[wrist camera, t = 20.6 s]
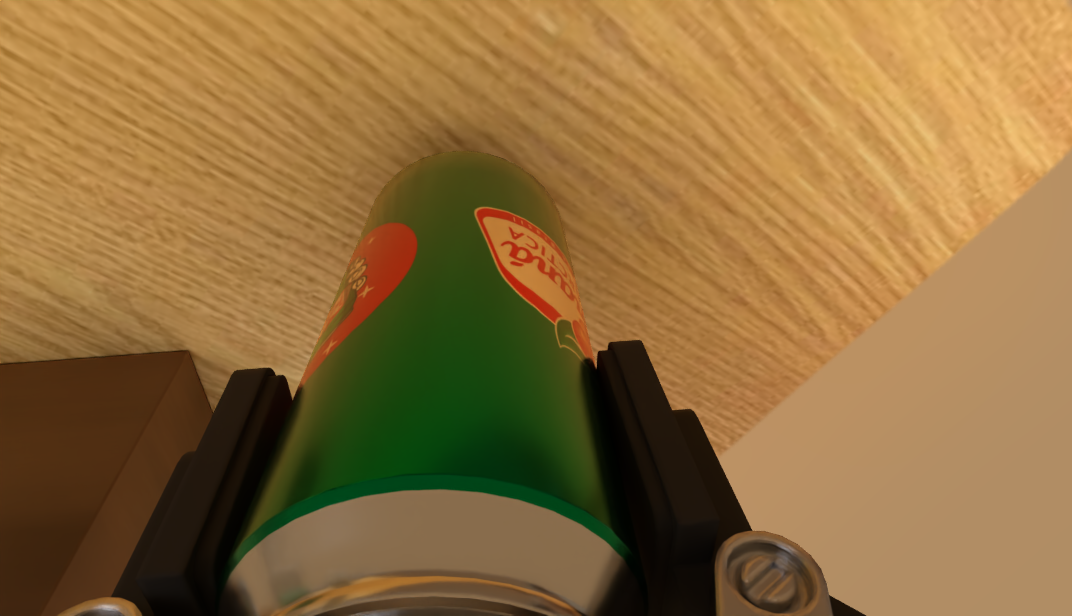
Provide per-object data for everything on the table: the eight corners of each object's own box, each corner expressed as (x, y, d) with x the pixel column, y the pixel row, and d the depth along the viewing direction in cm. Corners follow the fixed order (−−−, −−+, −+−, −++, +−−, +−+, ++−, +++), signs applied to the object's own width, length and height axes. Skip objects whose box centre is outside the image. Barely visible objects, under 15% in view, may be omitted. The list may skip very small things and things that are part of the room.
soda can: (588, 281, 18) (718, 770, 8) (423, 341, 19) (340, 863, 8) (520, 110, 15) (580, 501, 5) (333, 188, 16) (51, 668, 6)
